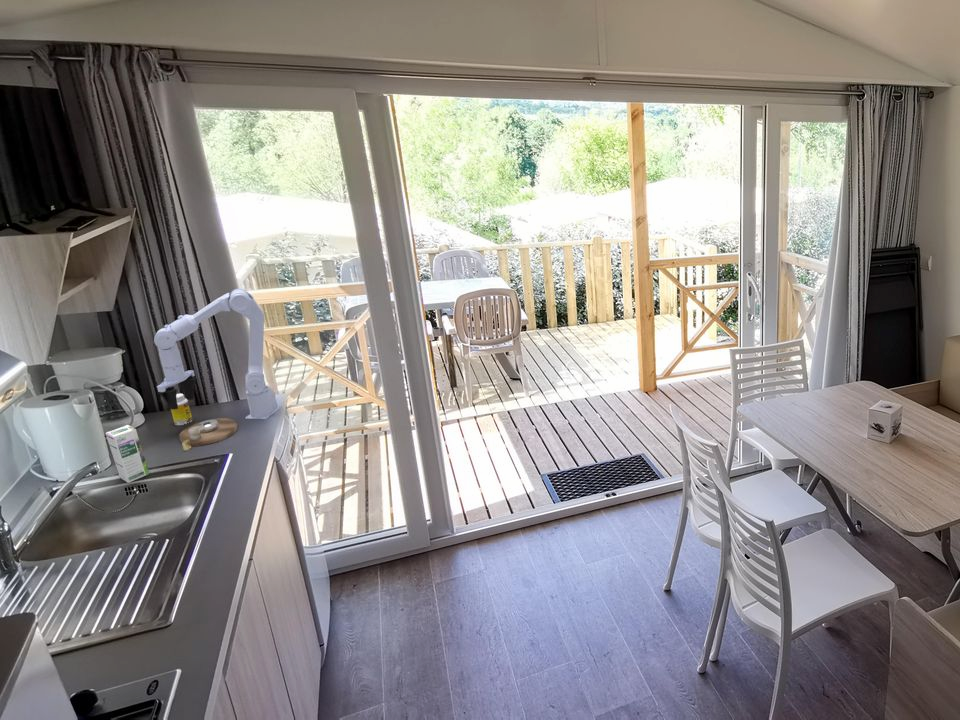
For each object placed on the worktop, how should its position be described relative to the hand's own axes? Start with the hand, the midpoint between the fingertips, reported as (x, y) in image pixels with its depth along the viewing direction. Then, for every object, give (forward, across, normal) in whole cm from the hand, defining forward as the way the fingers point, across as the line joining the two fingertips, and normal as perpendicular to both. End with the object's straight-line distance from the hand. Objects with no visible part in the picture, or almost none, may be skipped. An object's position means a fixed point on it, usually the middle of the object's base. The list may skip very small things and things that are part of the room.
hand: (182, 404), depth 177 cm
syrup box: (+10, +29, +5) cm, 31 cm away
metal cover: (+7, +3, +10) cm, 13 cm away
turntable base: (+9, +4, +10) cm, 14 cm away
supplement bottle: (+10, -5, -6) cm, 12 cm away
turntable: (+9, +3, +10) cm, 14 cm away
